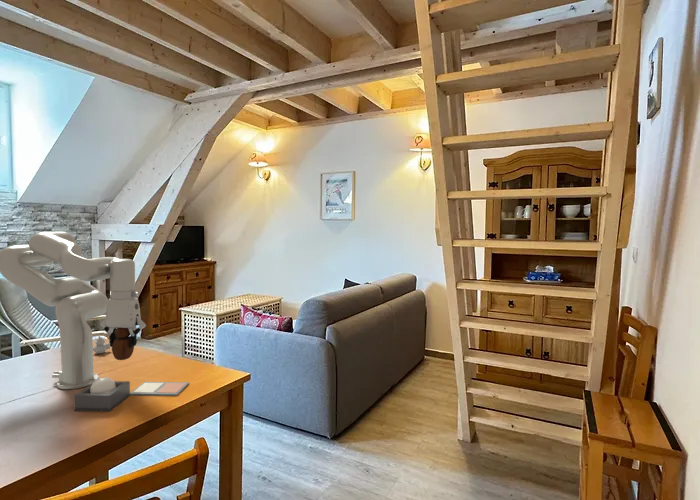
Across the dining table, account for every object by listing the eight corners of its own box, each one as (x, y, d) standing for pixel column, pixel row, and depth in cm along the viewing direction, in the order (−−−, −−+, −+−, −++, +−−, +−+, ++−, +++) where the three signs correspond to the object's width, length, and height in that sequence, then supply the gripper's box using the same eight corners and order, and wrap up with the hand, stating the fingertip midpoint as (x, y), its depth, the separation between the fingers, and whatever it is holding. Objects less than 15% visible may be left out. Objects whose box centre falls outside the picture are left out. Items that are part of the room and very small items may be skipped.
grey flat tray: (129, 395, 136) (129, 393, 136) (144, 383, 146) (144, 381, 146) (176, 395, 136) (176, 393, 136) (189, 384, 146) (188, 382, 146)
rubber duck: (92, 352, 179) (91, 335, 179) (109, 349, 184) (108, 332, 183) (94, 355, 175) (93, 337, 175) (111, 352, 180) (111, 335, 179)
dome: (85, 404, 127) (84, 382, 126) (99, 394, 134) (98, 373, 133) (107, 404, 127) (106, 382, 126) (120, 394, 134) (119, 374, 133)
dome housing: (74, 410, 125) (74, 395, 125) (97, 395, 136) (96, 381, 136) (110, 411, 125) (109, 395, 124) (130, 396, 136) (129, 381, 135)
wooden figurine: (123, 362, 138) (122, 319, 137) (108, 360, 139) (108, 317, 138) (137, 356, 144) (137, 314, 143) (123, 354, 146) (122, 313, 144)
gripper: (153, 293, 144) (153, 343, 145) (104, 292, 144) (105, 341, 145) (142, 297, 136) (142, 350, 138) (90, 296, 136) (91, 348, 138)
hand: (123, 345), depth 141 cm, fingers closed on wooden figurine, 5 cm apart
